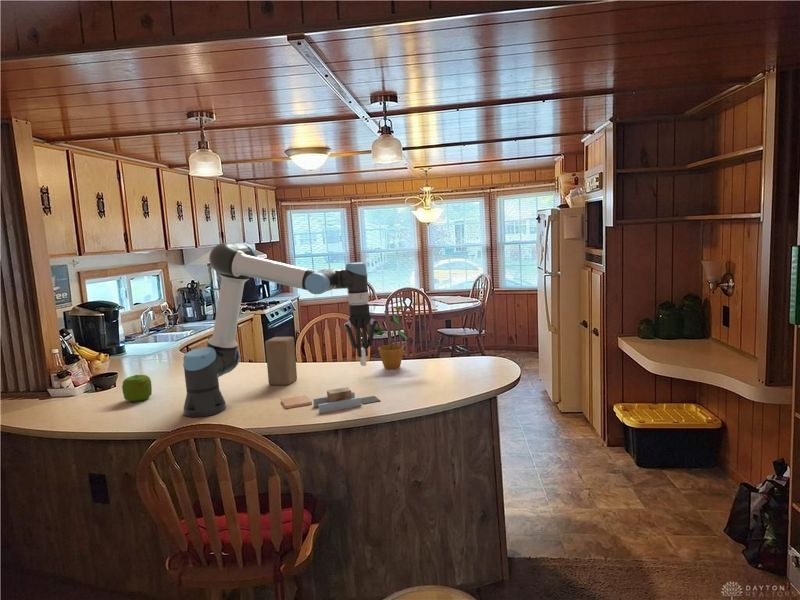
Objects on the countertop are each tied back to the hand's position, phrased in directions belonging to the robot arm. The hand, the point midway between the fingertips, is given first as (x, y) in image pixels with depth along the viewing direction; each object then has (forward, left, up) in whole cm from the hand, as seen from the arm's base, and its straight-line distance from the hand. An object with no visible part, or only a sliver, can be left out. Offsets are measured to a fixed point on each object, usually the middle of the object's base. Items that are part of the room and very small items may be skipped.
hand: (363, 364), depth 201 cm
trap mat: (+1, 0, -14) cm, 14 cm away
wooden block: (-23, +46, -14) cm, 54 cm away
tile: (-24, +13, -14) cm, 31 cm away
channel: (-11, 0, -14) cm, 18 cm away
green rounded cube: (-82, +54, -14) cm, 99 cm away
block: (-10, 0, -14) cm, 18 cm away
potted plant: (+28, +42, -14) cm, 52 cm away
